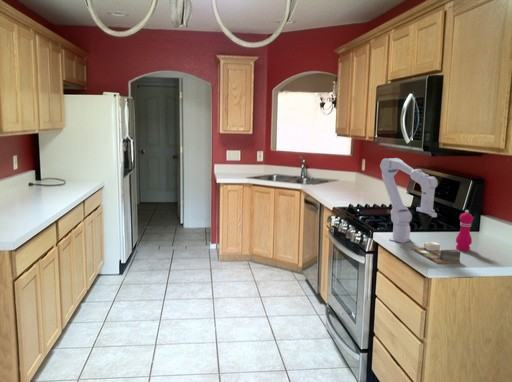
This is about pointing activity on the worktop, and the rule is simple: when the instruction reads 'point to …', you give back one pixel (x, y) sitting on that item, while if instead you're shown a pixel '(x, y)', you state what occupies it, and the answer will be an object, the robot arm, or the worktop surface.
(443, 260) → the gauge base
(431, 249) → the gauge carriage
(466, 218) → the pepper mill
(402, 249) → the worktop surface
